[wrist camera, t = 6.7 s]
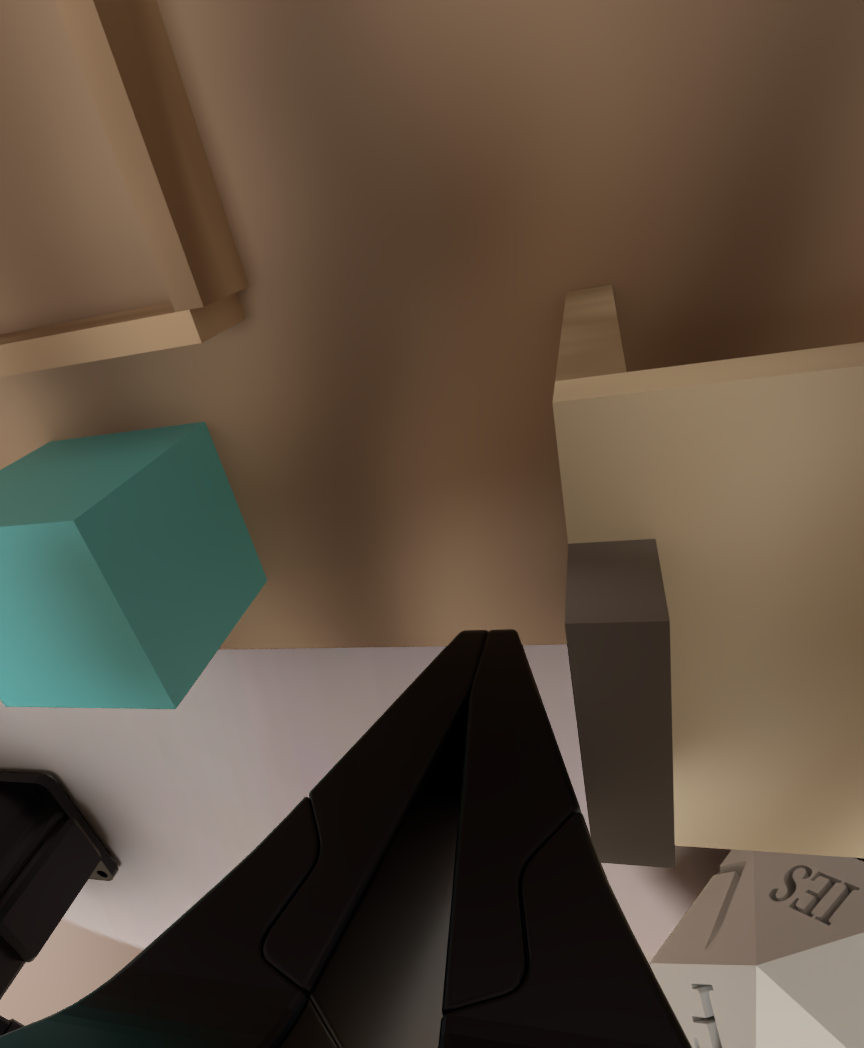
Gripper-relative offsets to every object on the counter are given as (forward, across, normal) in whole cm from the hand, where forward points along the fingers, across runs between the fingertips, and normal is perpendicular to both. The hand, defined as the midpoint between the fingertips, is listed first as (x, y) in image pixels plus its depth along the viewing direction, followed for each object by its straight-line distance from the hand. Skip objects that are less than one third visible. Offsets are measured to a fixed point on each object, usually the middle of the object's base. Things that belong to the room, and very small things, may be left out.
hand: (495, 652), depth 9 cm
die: (+6, -7, +15) cm, 17 cm away
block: (+6, +9, 0) cm, 11 cm away
